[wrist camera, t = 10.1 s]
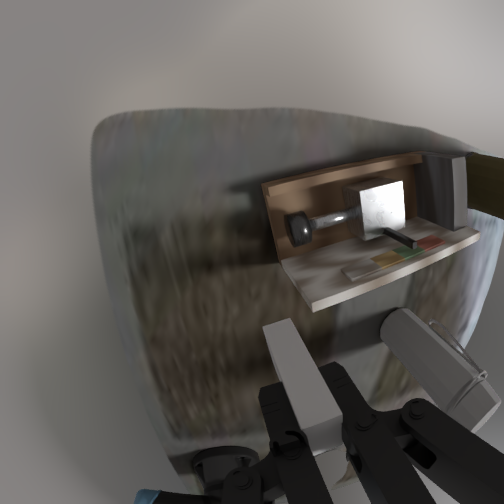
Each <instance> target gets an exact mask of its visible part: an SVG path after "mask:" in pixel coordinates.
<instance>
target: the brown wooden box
mask: <svg viewBox="0 0 504 504" xmlns="http://www.w3.org/2000/svg"><path fill="white" fill-rule="evenodd" d="M380 177H385V178H390V179H394V180H399V181H402V186H403V197H404V211H405V228H402V229H399V230H396V231H397V232H399V233H401V234H403V235H405V236H407V237H409V238H411V239H413V240H415V241H417V248H415V249H411V248H409V247H407V246H406V245H404V244H402V243H400V242H398V241H396V240H394V239H393V238H391V237H389V236H387V235H382V236H379V237H376V238H373V239H370V240H367V241H365V240H363V239H361V238H360V237H358V236H356V235H355V234H353V233H351V232H349V231H348V223H347V221H346V222H343V223H339V224H336V225H333V226H329V227H326V228H323V229H319V230H316V231H312V242H311V243H309V244H305V245H302V246H299V247H295V248H294V247H293V246H292V245H291V243H290V241H289V238H288V236H287V233H286V229H285V224H284V215H285V214H289V213H293V212H296V211H300V210H302V211H304V212H305V214H306V216H307V217H308V219H310V218H313V217H317V216H321V215H324V214H328V213H331V212H335V211H339V210H342V209H345V202H344V195H343V189H342V186H345V185H349V184H354V183H358V182H362V181H366V180H371V179H375V178H380ZM261 187H262V191H263V195H264V199H265V203H266V208H267V212H268V216H269V220H270V224H271V229H272V233H273V237H274V242H275V246H276V250H277V255H278V259H279V263H280V265H281V266H282V268H283V269H284V270H285V272H286V273H287V275H288V276H289V278H290V279H291V281H292V282H293V284H294V285H295V286H296V288H297V289H298V291H299V292H300V294H301V295H302V297H303V298H304V300H305V301H306V303H307V304H308V306H309V307H310V309H311V310H312V311H313V312H315V311H318V310H321V309H323V308H326V307H329V306H332V305H334V304H337V303H340V302H342V301H345V300H348V299H350V298H353V297H355V296H358V295H360V294H363V293H365V292H368V291H370V290H373V289H375V288H378V287H380V286H382V285H385V284H387V283H390V282H392V281H394V280H397V279H399V278H401V277H403V276H406V275H408V274H410V273H412V272H415V271H417V270H419V269H421V268H423V267H426V266H428V265H430V264H432V263H434V262H436V261H438V260H440V259H442V258H444V257H446V256H448V255H450V254H452V253H454V252H456V251H458V250H460V249H462V248H464V247H466V246H468V245H470V244H472V243H474V242H476V241H478V240H479V239H480V232H479V231H477V230H475V229H472V228H470V227H468V226H467V175H466V160H465V157H464V156H457V155H450V154H443V153H434V152H425V151H416V152H409V153H403V154H397V155H391V156H385V157H379V158H374V159H368V160H363V161H358V162H353V163H348V164H343V165H338V166H333V167H329V168H324V169H320V170H315V171H311V172H306V173H302V174H298V175H294V176H290V177H285V178H281V179H277V180H273V181H270V182H266V183H262V184H261Z"/></svg>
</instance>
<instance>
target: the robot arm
mask: <svg viewBox="0 0 504 504" xmlns="http://www.w3.org/2000/svg"><path fill="white" fill-rule="evenodd" d="M263 331H264V334H265V338H266V341H267V344H268V348H269V351H270V355H271V358H272V361H273V364H274V367H275V370H276V372H277V375H278V378H279V381H280V382H278V383H275V384H271V385H268V386H265V387H262V388H260V392H259V396H258V398H259V402H260V406H261V409H262V413H263V416H264V420H265V423H266V427H267V430H268V434H269V437H270V442H269V445H270V452H269V454H268V455H267V456H266V457H265V458H264V459H263V460H261V461H260V460H259V456H258V454H257V452H255V451H254V450H252V449H249V448H244V447H234V446H230V447H218V448H212V449H208V450H205V451H202V452H200V453H198V454H197V455H196V456H195V457H194V459H193V465H194V470H195V472H196V474H197V476H198V478H199V480H200V482H201V484H202V486H203V489H204V495H191V494H180V493H172V492H166V491H162V490H158V491H157V490H149V489H141V490H139V491H138V492H137V494H136V497H135V500H134V504H275V499H277V498H279V497H280V496H282V495H284V494H286V497H287V500H288V503H289V504H333V502H332V499H331V497H330V494H329V492H328V490H327V487H326V485H325V482H324V480H323V478H322V475H321V473H320V470H319V468H318V466H317V464H316V461H315V458H314V455H317V454H320V453H323V452H325V451H328V450H330V449H333V448H335V447H338V446H340V445H342V444H343V442H344V444H345V446H346V448H347V450H346V459H347V461H349V460H350V462H351V464H352V466H353V468H354V470H355V472H356V474H357V476H358V478H359V480H360V482H361V483H362V486H363V488H364V489H365V492H366V493H367V496H368V498H369V500H370V502H371V504H436V502H435V501H434V499H433V498H432V496H431V494H430V493H429V491H428V489H427V488H426V486H425V485H424V483H423V481H422V480H421V478H420V477H419V475H418V473H417V472H416V470H415V469H414V467H413V466H412V465H414V466H415V467H416V468H417V469H418V470H419V471H421V472H422V473H423V474H424V475H425V476H427V477H428V478H429V479H430V480H431V481H433V482H434V483H435V484H436V485H437V486H439V487H440V488H441V489H442V490H443V491H445V492H446V493H447V494H448V495H450V496H451V497H452V498H453V499H455V500H456V501H457V502H459V503H460V504H504V454H503V453H501V452H499V451H498V450H497V449H495V448H494V447H492V446H491V445H489V444H488V443H487V442H485V441H484V440H482V439H481V438H479V437H478V436H476V435H475V434H474V433H472V432H471V431H470V430H468V429H467V428H465V427H464V426H462V425H461V424H460V423H458V422H457V421H455V420H454V419H453V418H451V417H450V416H448V415H447V414H446V413H444V412H443V411H441V410H440V409H439V408H437V407H436V406H434V405H433V404H432V403H430V402H429V401H427V400H425V399H422V398H415V399H411V400H410V401H408V402H407V403H406V404H405V405H404V406H403V408H401V409H397V410H392V411H386V412H381V411H376V410H374V409H372V408H371V407H370V406H369V405H368V404H367V403H366V401H365V400H364V398H363V396H362V395H361V393H360V392H359V390H358V389H357V387H356V386H355V384H354V383H353V381H352V380H351V378H350V376H349V375H348V373H347V372H346V370H345V369H344V367H343V366H341V365H340V364H338V363H336V362H335V361H334V362H332V363H329V364H327V365H324V366H321V367H319V368H317V366H316V365H315V363H314V361H313V359H312V357H311V355H310V354H309V352H308V350H307V348H306V346H305V344H304V343H303V341H302V339H301V337H300V335H299V333H298V332H297V330H296V328H295V326H294V324H293V323H292V321H291V319H290V318H288V319H285V320H282V321H279V322H276V323H273V324H270V325H266V326H263Z"/></svg>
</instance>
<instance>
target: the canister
mask: <svg viewBox="0 0 504 504" xmlns="http://www.w3.org/2000/svg"><path fill="white" fill-rule="evenodd" d="M465 160H466V175H467V207H468V208H470V209H475V210H478V211H481V212H484V213H487V214H490V215H492V216H495V217H498V218H500V219H503V220H504V159H503V158H498V157H492V156H487V155H481V154H478V153H476V152H472V153H470V154H468V155H467V156H466V157H465Z"/></svg>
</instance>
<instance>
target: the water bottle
mask: <svg viewBox="0 0 504 504" xmlns="http://www.w3.org/2000/svg"><path fill="white" fill-rule="evenodd" d="M428 322H429V327H428V326H427V325H426V324H425V323H424V322H423V321H422V320H420V319H419V318H418V317H417V316H416V315H415V314H414V313H412V312H411V311H410V310H409V309H405V308H400V309H397V310H395V311H394V312H392V313H390V314H389V316H388V317H387V318H386V319H385V320H384V322H383V324H382V326H381V328H380V338H381V339H382V341H383V342H384V343H385V344H386V345H387V346H388V347H389V349H390V350H391V351H392V352H393V353H394V354H395V355H396V357H397V358H398V359H399V360H400V361H401V362H402V364H403V365H404V366H405V367H406V368H407V369H408V371H409V372H410V373H411V374H412V375H413V377H414V378H415V379H416V380H417V381H418V382H419V384H420V385H421V386H422V387H423V388H424V390H425V391H426V392H427V393H428V394H429V396H430V397H431V398H432V399H433V401H434V402H435V403H436V404H437V405H438V407H439V408H440V409H441V410H442V411H443V412H444V413H446V414H447V415H448V416H450V417H451V418H453V419H454V420H455V421H457V422H458V423H460V424H461V425H462V426H464V427H465V428H467V429H468V430H470V431H471V432H472V433H475V432H476V431H477V430H478V429H479V428H481V427H482V426H483V425H484V424H485V423H486V421H487V420H488V419H489V418H490V417H491V416H492V415H493V413H494V412H495V411H496V410H497V408H498V407H499V405H500V404H501V399H500V398H499V397H498V395H497V394H496V392H495V391H494V390H493V388H492V387H491V386H490V385H489V383H488V382H487V381H486V380H484V379H485V378H486V377H487V374H488V373H487V372H486V371H483V370H481V369H479V367H478V366H477V365H476V363H475V362H474V361H473V360H472V359H471V357H470V356H469V355H468V354H467V353H466V351H465V350H464V349H463V348H462V346H461V345H460V344H459V343H458V342H457V340H456V339H455V338H454V337H453V336H452V335H451V333H450V332H449V331H448V330H447V329H446V328H445V327H444V326H443V325H442V324H441V323H440V322H438V321H437V320H434V319H431V320H430V321H428ZM432 322H434V323H436V324H438V325H439V326H440V327H442V328H443V329H444V330H445V331H446V332H447V334H448V335H449V336H450V337H451V338H452V339H453V340H454V342H455V343H456V344H457V345H458V346H459V347H460V349H461V350H462V351H463V352H464V353H465V354H466V356H467V357H468V358H469V359H470V361H469V360H468V359H467V358H466V357H465V356H464V355H463V354H462V353H461V352H459V351H458V350H457V349H456V348H455V347H454V346H453V345H451V344H450V343H449V342H448V341H447V340H446V339H445V338H443V337H442V336H441V335H440V334H439V333H438V332H436V331H435V330H434V329H433V328H432V327H431V326H430V324H431V323H432ZM454 350H455V351H454ZM461 356H462V357H463V358H464V359H465V360H466V361H467V362H468V363H469V364H471V365H472V366H473V367H474V368H475V369H476V370H477V371H478V372H479V374H478V373H477V372H476V371H475V370H474V369H473V368H472V367H471V366H470V365H469V364H468V363H467V362H466V361H465V360H464V359H463V358H462V357H461ZM480 375H481V376H482V378H480Z"/></svg>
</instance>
